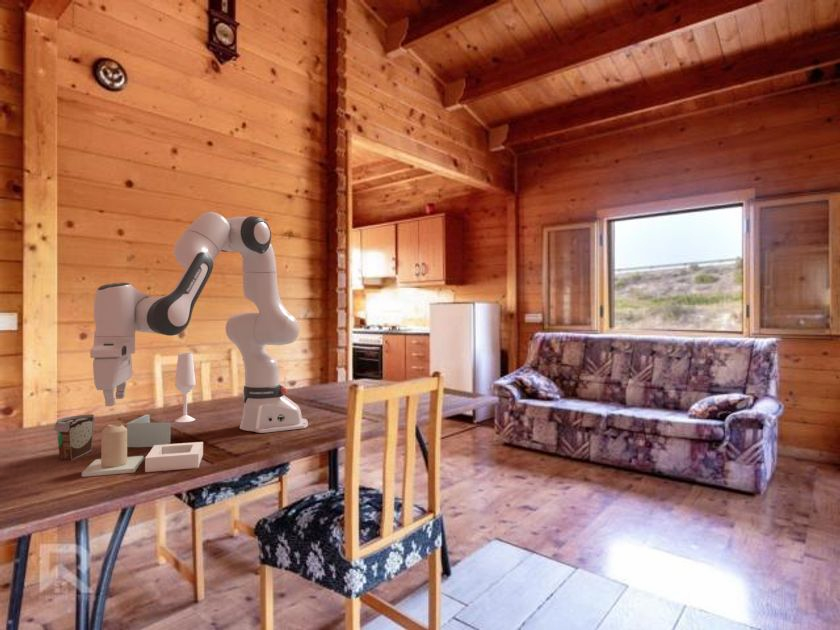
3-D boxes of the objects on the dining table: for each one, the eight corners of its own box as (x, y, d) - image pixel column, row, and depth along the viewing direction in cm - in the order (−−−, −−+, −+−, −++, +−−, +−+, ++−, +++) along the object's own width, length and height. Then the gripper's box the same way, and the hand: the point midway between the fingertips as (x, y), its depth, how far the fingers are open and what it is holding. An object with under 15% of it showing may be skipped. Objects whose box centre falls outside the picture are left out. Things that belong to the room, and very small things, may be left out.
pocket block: (202, 454, 137) (203, 441, 137) (198, 467, 125) (198, 453, 125) (154, 458, 133) (154, 445, 133) (145, 472, 121) (145, 457, 121)
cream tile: (143, 459, 132) (143, 455, 132) (134, 472, 121) (134, 468, 121) (95, 463, 128) (95, 459, 128) (81, 476, 118) (81, 472, 118)
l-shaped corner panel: (169, 448, 144) (169, 423, 144) (126, 449, 143) (126, 423, 143) (185, 438, 156) (185, 414, 156) (146, 438, 155) (146, 414, 155)
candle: (114, 468, 121) (115, 427, 121) (95, 466, 122) (95, 426, 122) (132, 461, 126) (132, 422, 126) (113, 460, 127) (114, 421, 127)
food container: (72, 449, 140) (72, 414, 140) (94, 449, 141) (95, 414, 141) (42, 462, 128) (42, 424, 128) (67, 462, 128) (67, 424, 128)
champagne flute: (172, 422, 174) (173, 354, 174) (177, 418, 180) (177, 352, 180) (193, 421, 175) (193, 354, 175) (197, 417, 182) (197, 352, 182)
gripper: (111, 344, 133) (112, 395, 133) (87, 351, 114) (88, 411, 114) (138, 343, 135) (138, 394, 136) (118, 350, 116) (119, 409, 116)
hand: (115, 402), depth 125 cm, fingers open, 8 cm apart
